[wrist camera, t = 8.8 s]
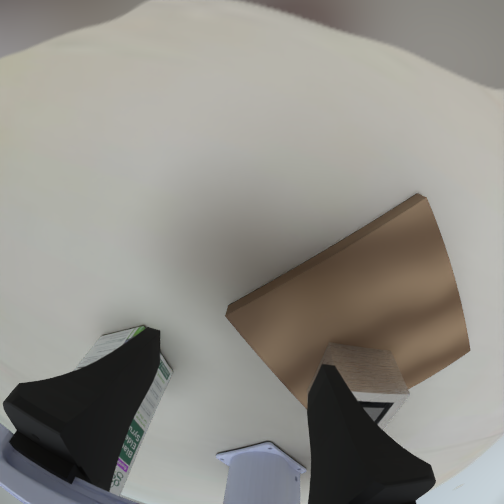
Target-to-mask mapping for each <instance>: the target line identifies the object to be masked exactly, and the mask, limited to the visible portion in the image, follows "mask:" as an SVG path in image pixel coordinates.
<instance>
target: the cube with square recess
mask: <svg viewBox="0 0 504 504" xmlns="http://www.w3.org/2000/svg"><path fill="white" fill-rule="evenodd" d="M322 364H327V365H335V367H336V368H337V370H338V371H339V373H340V375H341V376H342V378H343V379H344V381H345V383H346V384H347V386H348V387H349V389H350V390H351V392H352V393H353V395H354V396H355V398H356V399H357V400H358V401H368V402H383V405H384V409H383V411H382V412H381V413H380V415H379V416H378V417H377V419H376V420H375V421H374V422H375V423H376V424H377V425H378V426H379V427H380V428H381V429H382V430H383V429H384V428H385V426H386V425H387V424H388V423H389V421H390V420H391V419H392V418H393V416H394V415H395V414H396V413H397V411H398V410H399V409H400V407H401V406H402V405H403V403H404V402H405V401H406V399H407V398H408V397H409V395H410V393H409V391H408V388H407V386H406V384H405V381H404V379H403V377H402V374H401V372H400V370H399V368H398V365H397V363H396V361H395V359H394V356H393V354H392V352H391V351H387V350H379V349H371V348H364V347H357V346H350V345H343V344H336V343H330V342H329V344H328V346H327V348H326V350H325V353H324V355H323V357H322V359H321V362H320V364H319V366H318V368H317V370H316V372H315V374H314V377H313V379H312V381H311V383H310V385H309V387H308V389H307V403H308V393H309V391H310V389H311V386H312V384H313V382H314V380H315V378H316V376H317V374H318V371H319V369H320V367H321V365H322Z"/></svg>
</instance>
